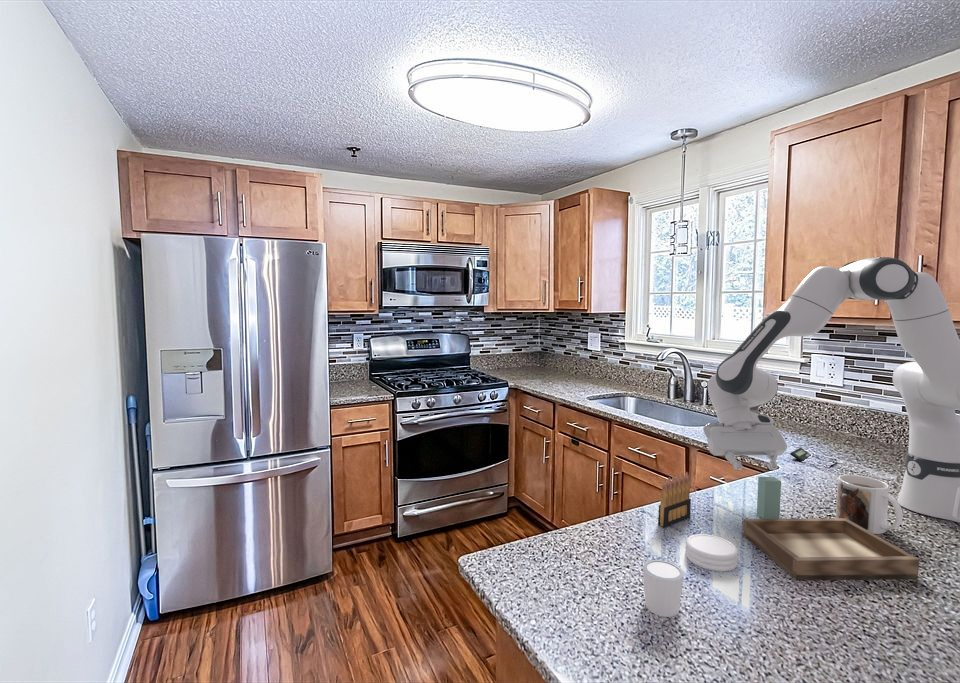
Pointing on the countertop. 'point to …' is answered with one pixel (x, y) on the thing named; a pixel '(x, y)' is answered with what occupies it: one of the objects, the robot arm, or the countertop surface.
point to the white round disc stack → (711, 552)
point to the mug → (866, 503)
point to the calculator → (800, 454)
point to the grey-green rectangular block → (768, 497)
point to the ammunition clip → (674, 501)
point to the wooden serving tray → (829, 549)
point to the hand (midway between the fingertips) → (756, 468)
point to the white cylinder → (662, 587)
